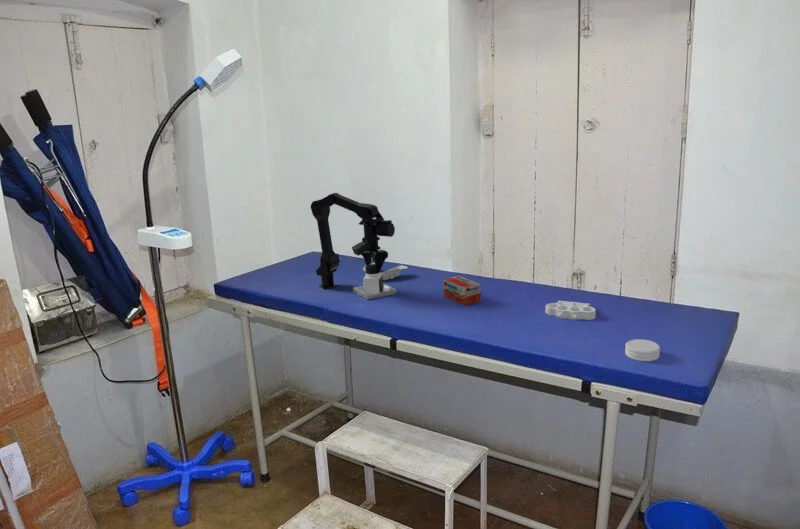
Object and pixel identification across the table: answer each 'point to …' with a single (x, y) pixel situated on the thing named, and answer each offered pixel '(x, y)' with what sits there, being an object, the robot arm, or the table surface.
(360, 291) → the tray
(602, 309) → the table surface
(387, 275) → the dental model
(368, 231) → the robot arm
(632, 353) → the white round container
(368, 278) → the medicine bottle
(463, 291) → the medicine box
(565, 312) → the grey holed plate
